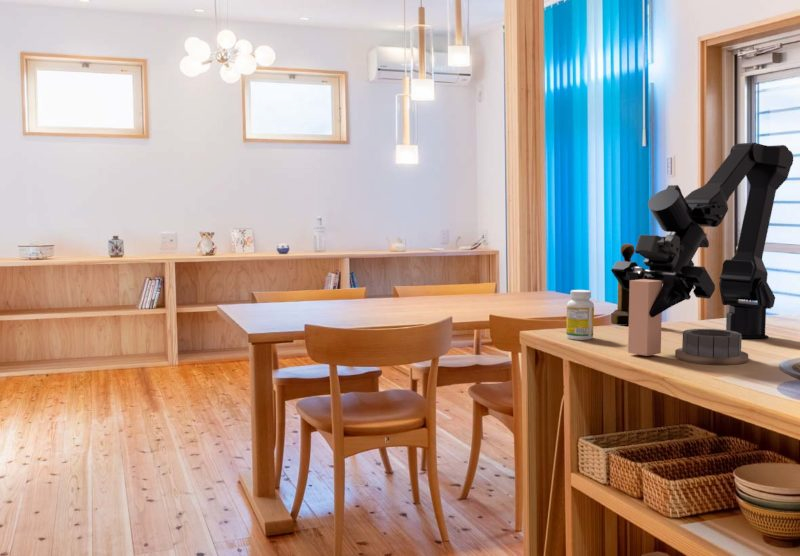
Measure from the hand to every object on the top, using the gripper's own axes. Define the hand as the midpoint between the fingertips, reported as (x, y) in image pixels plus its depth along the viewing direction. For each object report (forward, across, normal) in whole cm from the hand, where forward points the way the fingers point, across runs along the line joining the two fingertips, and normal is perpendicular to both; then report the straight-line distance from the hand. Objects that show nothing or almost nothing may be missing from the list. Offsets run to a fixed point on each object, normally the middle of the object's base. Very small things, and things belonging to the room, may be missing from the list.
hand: (640, 314), depth 147 cm
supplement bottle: (0, -20, +11) cm, 22 cm away
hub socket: (0, +9, +11) cm, 14 cm away
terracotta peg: (+4, 0, +6) cm, 7 cm away
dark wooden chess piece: (-16, -26, +27) cm, 41 cm away
